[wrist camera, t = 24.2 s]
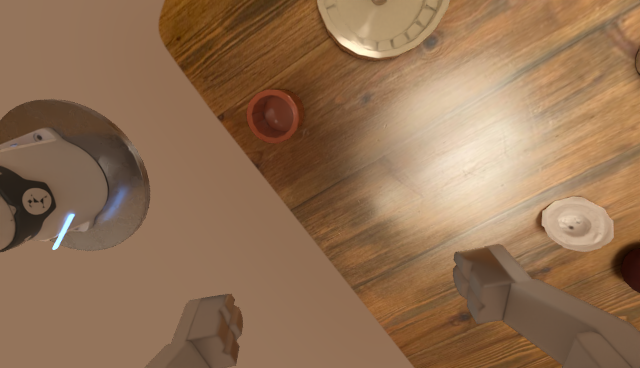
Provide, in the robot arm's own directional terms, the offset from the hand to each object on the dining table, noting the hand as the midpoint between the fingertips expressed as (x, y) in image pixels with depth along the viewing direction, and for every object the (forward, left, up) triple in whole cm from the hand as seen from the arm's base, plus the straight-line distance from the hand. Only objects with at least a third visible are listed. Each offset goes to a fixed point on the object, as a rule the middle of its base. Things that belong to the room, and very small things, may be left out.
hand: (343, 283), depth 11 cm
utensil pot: (-8, +4, -35) cm, 37 cm away
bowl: (+7, +17, -35) cm, 40 cm away
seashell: (+33, -17, -35) cm, 51 cm away
